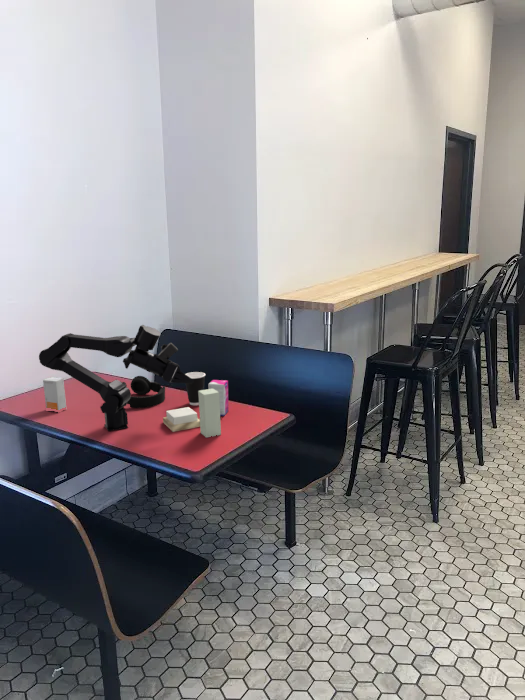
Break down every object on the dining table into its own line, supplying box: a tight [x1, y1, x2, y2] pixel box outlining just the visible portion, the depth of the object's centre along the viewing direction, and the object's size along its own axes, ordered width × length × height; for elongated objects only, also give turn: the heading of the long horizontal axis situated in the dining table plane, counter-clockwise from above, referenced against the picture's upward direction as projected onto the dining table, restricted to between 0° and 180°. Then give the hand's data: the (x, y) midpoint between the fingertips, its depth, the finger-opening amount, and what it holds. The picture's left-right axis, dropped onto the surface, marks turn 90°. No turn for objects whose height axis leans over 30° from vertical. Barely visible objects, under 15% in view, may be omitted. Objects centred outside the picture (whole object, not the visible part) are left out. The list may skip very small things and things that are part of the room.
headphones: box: [119, 375, 166, 409], centre depth 222 cm, size 18×8×20 cm
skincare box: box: [42, 376, 67, 410], centre depth 212 cm, size 6×4×12 cm
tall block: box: [198, 389, 222, 438], centre depth 184 cm, size 5×5×14 cm
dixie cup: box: [184, 371, 206, 406], centre depth 216 cm, size 8×8×11 cm
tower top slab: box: [165, 406, 198, 425], centre depth 194 cm, size 8×8×2 cm
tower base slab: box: [162, 416, 200, 433], centre depth 195 cm, size 10×10×2 cm
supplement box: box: [208, 379, 229, 417], centre depth 204 cm, size 6×6×12 cm
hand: (191, 380), depth 191 cm, fingers open, 9 cm apart
